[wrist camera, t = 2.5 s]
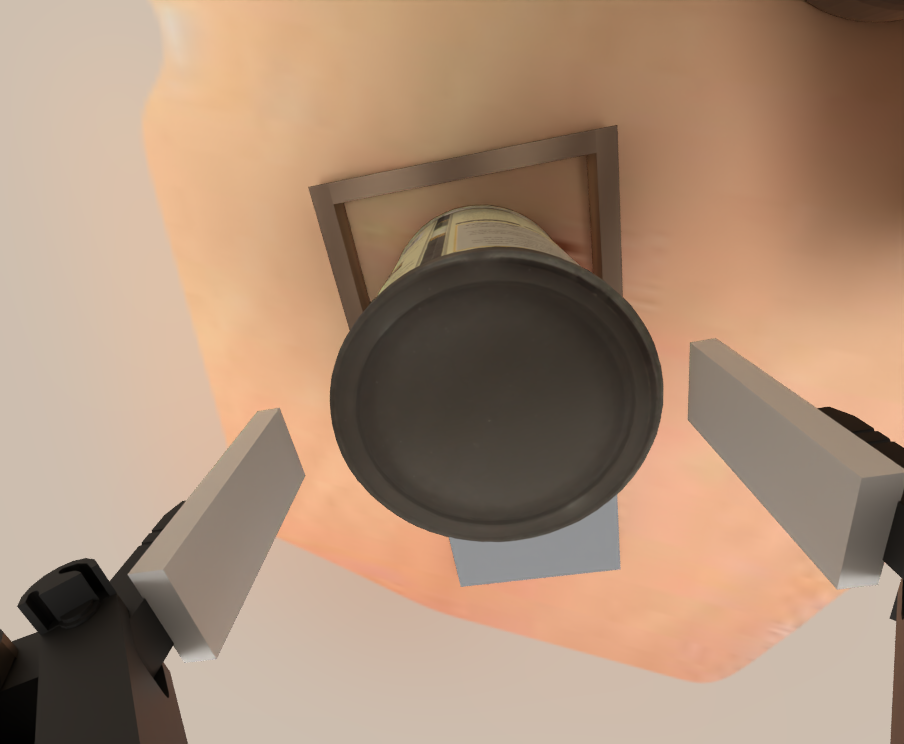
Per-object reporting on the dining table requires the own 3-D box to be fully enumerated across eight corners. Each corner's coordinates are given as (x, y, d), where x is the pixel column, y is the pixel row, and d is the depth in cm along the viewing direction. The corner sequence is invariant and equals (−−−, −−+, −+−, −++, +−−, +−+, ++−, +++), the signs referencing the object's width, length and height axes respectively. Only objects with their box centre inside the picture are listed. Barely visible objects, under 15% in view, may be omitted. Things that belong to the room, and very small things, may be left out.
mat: (609, 424, 31) (614, 433, 30) (616, 558, 35) (620, 569, 35) (430, 449, 32) (429, 458, 31) (461, 576, 37) (460, 586, 36)
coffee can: (548, 385, 30) (612, 560, 17) (386, 364, 29) (325, 526, 16) (589, 217, 25) (718, 279, 12) (400, 189, 25) (332, 224, 12)
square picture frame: (605, 127, 23) (617, 125, 22) (616, 390, 30) (626, 405, 28) (319, 185, 25) (308, 187, 23) (386, 423, 31) (381, 440, 29)
